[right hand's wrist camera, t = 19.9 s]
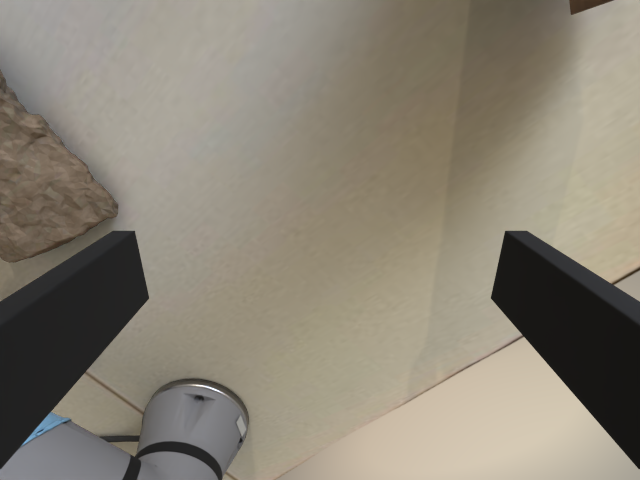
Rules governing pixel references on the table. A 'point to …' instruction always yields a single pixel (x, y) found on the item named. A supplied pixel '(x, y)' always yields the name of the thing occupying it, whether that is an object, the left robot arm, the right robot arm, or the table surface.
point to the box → (584, 5)
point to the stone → (42, 186)
